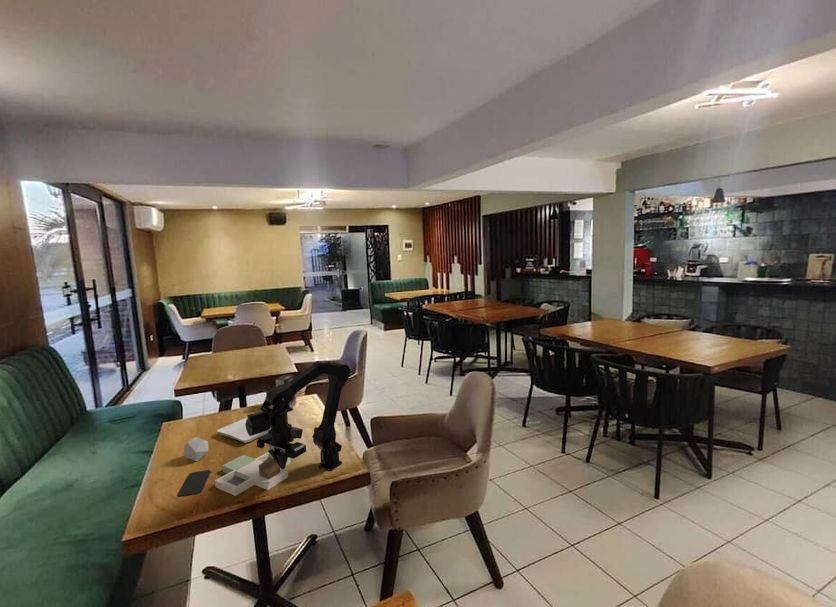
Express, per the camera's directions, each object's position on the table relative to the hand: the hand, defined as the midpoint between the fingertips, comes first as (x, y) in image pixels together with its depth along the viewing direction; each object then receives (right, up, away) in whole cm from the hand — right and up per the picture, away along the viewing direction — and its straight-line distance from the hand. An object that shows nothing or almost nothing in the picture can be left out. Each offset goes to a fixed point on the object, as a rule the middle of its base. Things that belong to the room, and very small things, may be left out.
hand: (283, 468), depth 141 cm
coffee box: (-22, +2, +74) cm, 77 cm away
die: (-42, -5, +22) cm, 48 cm away
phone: (-33, -8, +4) cm, 34 cm away
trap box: (-13, -6, +8) cm, 16 cm away
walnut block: (-6, -4, +4) cm, 8 cm away
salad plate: (-29, -2, +45) cm, 54 cm away
